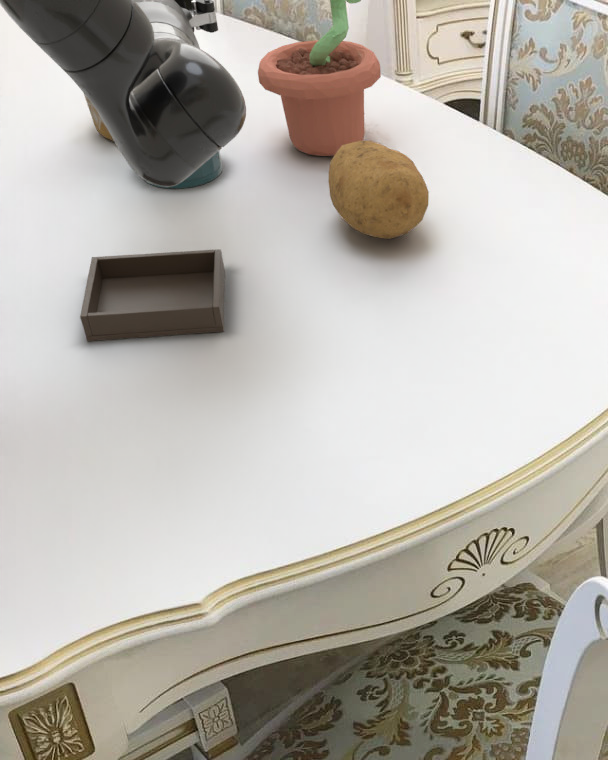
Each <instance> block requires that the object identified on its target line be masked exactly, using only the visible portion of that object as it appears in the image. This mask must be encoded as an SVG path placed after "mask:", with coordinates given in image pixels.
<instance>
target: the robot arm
mask: <svg viewBox="0 0 608 760" xmlns="http://www.w3.org/2000/svg"><path fill="white" fill-rule="evenodd" d="M0 7H2V9H3V10H4V12H6V14H7V16H9V17H10V18H11V20H12V21H13V22H14V23H15V24H16V25H17V27H18V28H19V29H20V30H22V32H24V34H25V35H27V36H28V38H30V39H31V40H32V42H34V43H35V44H36V45H37V46H38V47H39V48H40V49H41V50H42V51H43V52H44V53H45V54H46V55H47V56H48V57H49V58H50V59H51V60H52V61H53V62H54V63H55V64H56V65H57V66H58V67H60V68H61V69H62V71H63V72H65V73H66V74H67V76H68V77H69V78H70V79H71V80H72V81H73V82H74V83H75V84H76V85H77V87H78V88H79V89H80V90H81V92H82V93H83V95H84V94H85V95H86V97H87V98H88V99H89V101H90V102H91V103H92V105H93V106H94V108H95V109H96V111H97V112H98V114H99V115H100V117H101V119H102V120H103V122H104V124H105V125H106V127H107V129H108V131H109V133H110V135H111V136H112V138H113V140H114V141H113V142H114V143H115V145H116V147H117V149H118V150H119V152H120V155H122V156H121V157H123V159H124V160H125V162H126V163H127V164H128V166H129V168H131V170H132V171H133V172H134V173H135V174H136V175H137V176H138V177H140V178H141V179H142V180H143V179H144V180H146V181H147V182H149V183H152V184H155V185H158V186H165V187H170V186H175V185H177V184H179V183H181V182H183V181H184V180H185V179H186V178H188V177H189V176H190V175H191V174H192V173H194V172H195V171H196V170H197V169H198V168H199V167H201V166H202V165H203V164H204V163H205V162H206V161H208V160H209V159H210V158H211V157H212V156H213V155H215V154H216V153H217V152H218V151H219V150H220V151H221V150H222V148H225V146H227V145H228V144H229V143H231V142H232V141H233V140H234V139H235V138H236V137H237V136H238V135H239V133H240V132H241V131H242V129H243V126H244V124H245V120H246V116H247V105H246V100H245V98H244V94H243V92H242V90H241V88H240V86H239V85H238V83H237V81H236V80H235V78H234V77H233V76H232V75H231V73H230V72H229V71H228V70H227V68H225V67H224V66H223V64H221V63H220V61H218V60H217V59H216V58H214V57H213V56H212V55H210V53H208V52H206V51H205V50H203V49H201V46H200V44H199V41H198V39H197V37H196V35H195V30H196V31H200V30H202V31H204V32H207V33H216V32H218V31H219V26H218V19H217V14H216V7H215V1H214V0H0ZM144 180H143V181H144ZM147 182H146V183H147ZM149 183H148V184H149Z"/></svg>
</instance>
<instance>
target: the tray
mask: <svg viewBox="0 0 608 760" xmlns="http://www.w3.org/2000/svg"><path fill="white" fill-rule="evenodd" d="M225 283H226V270H225V265H224V259H223V254H222V249H220V248H219V249H217V248H216V249H202V250H201V249H200V250H186V251H169V252H168V251H167V252H153V253H152V252H151V253H138V254H137V253H136V254H121V255H120V254H119V255H104V256H91V259H90V264H89V269H88V275H87V279H86V286H85V289H84V290H85V291H84V296H83V300H82V306H81V310H80V314H79V315H80V316H79V319H80V321H81V326H82V328H83V331H84V335H85V339H86V341H87V342H95V341H106V340H107V341H108V340H110V341H111V340H122V339H136V338H150V337H151V338H152V337H166V336H179V335H192V334H194V335H195V334H206V333H222V332H225V295H226V294H225V291H226V290H225V289H226V284H225Z"/></svg>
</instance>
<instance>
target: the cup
mask: <svg viewBox="0 0 608 760" xmlns="http://www.w3.org/2000/svg"><path fill="white" fill-rule="evenodd" d="M221 156H222V155H221V149H220V150H219V151H218V152H217V153H216V154H215V155H213V156H212V157H211V158H210V159H209V160H208V161H206V162H205V163H204V164H203V165H202V166H201V167H199V168H198V169H197V170H196V171H195V172H194V173H192V174H191V175H190V176H189V177H188V178H186V179H185V180H184V181H183V182H181V183H179V184H177V185H175V186H170V187H165V186H158V185H155V184H152V183H149V182H147V181H146V180H144V179H143V178H142V180H143V181H144V182H146V183H147V184H149V185H151V186H153V187H157V188H163V189H173V190H175V189H189V188H194V187H199V186H202V185H205V184H208V183H211V182H212V181H214V180H215V179H217V178H218V177H219V176H220V175H221V173H222V172H223V166H222V165H223V164H222V157H221Z"/></svg>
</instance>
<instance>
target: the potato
mask: <svg viewBox="0 0 608 760" xmlns="http://www.w3.org/2000/svg"><path fill="white" fill-rule="evenodd" d="M328 190H329V197H330V200H331V203H332V205H333V207H334V208H335V210H336V212H337V213H338V214H339V216H340V217H341V218H342V220H344V221H345V222H346V223H347V224H348V225H349V226H350V227H352V228H353V229H354V230H355V231H357V232H359V233H361V234H364V235H368V236H371V237H373V238H379V239H384V240H385V239H386V240H391V239H395V238H398V237H401V236H403V235H404V236H405V235H406V234H408V233H410V232H411V231H412V230H414V229H415V228H416V227H417V226H418V225H419V224H420V223H421V222H422V221H423V220H424V217H425V214H426V212H427V209H428V207H429V199H430V197H429V193H430V191H429V190H428V186H427V184H426V182H425V180H424V177H423V175H422V174H421V172H420V171H419V169H418V167H417V166H416V165H415V163H414V161H413V160H412V159H410V158H409V156H407V154H404V153H402V152H400V151H399V150H396V149H392V148H390V147H387V146H385V145H383V144H381V143H378V142H375V141H371V140H363V141H356V142H352V143H349V144H345V145H342V146H341V147H340V149H339V150H338V151H337V152H336V154H335V155H334V156H333V157H332V158H331V159H330V163H329V167H328Z"/></svg>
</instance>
